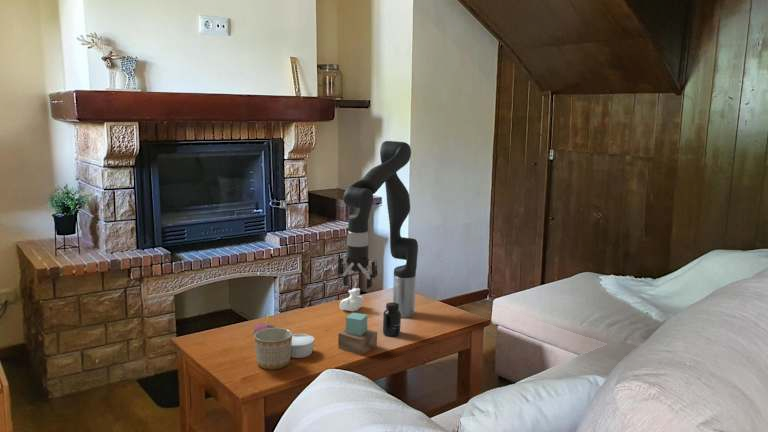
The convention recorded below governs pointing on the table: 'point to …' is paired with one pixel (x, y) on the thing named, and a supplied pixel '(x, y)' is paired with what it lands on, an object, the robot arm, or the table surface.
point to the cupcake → (262, 326)
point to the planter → (273, 347)
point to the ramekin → (301, 345)
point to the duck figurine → (352, 301)
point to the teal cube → (356, 324)
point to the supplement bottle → (391, 319)
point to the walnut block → (357, 342)
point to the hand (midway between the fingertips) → (357, 287)
